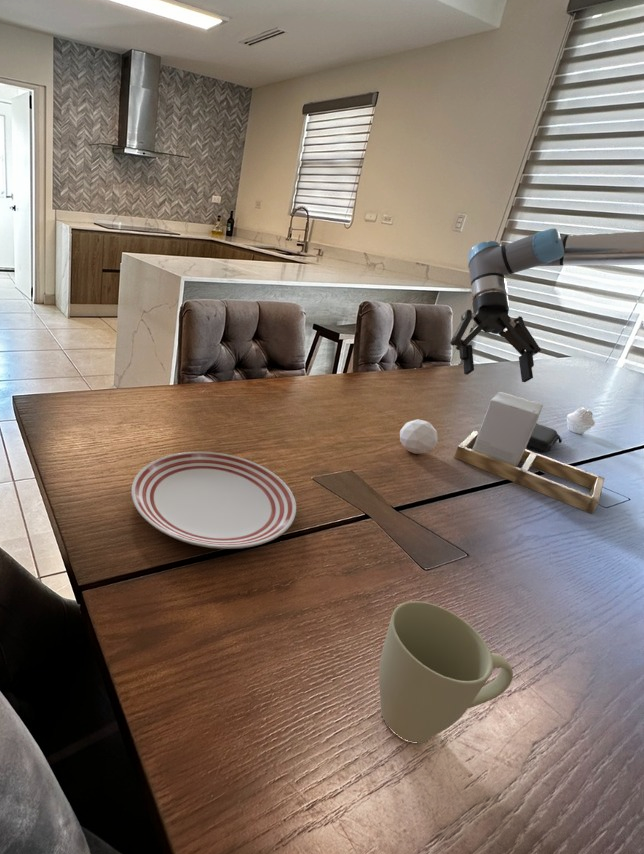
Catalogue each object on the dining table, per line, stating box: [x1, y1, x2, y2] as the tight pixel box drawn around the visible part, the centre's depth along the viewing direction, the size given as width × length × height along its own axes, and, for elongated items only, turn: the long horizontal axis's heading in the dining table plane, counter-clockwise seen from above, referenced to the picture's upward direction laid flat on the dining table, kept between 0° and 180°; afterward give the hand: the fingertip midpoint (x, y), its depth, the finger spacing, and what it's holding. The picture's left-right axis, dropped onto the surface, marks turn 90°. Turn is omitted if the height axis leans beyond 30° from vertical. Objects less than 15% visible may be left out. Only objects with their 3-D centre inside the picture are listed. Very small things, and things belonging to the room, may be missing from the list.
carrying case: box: [526, 423, 563, 453], centre depth 120 cm, size 11×3×15 cm
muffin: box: [566, 407, 596, 435], centre depth 128 cm, size 6×6×7 cm
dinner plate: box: [130, 451, 297, 550], centre depth 79 cm, size 28×27×3 cm
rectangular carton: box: [471, 391, 544, 467], centre depth 105 cm, size 9×9×15 cm
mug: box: [378, 600, 514, 744], centre depth 48 cm, size 11×10×12 cm
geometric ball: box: [399, 418, 438, 455], centre depth 106 cm, size 8×8×8 cm
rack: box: [453, 430, 605, 515], centre depth 103 cm, size 26×13×3 cm, turn 46°
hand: (498, 376), depth 110 cm, fingers open, 13 cm apart
